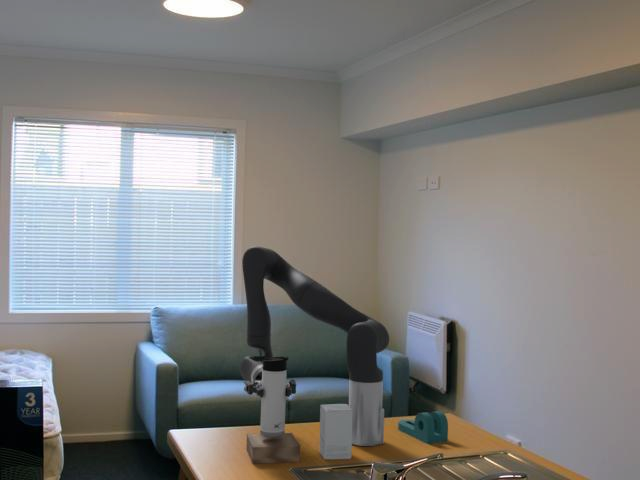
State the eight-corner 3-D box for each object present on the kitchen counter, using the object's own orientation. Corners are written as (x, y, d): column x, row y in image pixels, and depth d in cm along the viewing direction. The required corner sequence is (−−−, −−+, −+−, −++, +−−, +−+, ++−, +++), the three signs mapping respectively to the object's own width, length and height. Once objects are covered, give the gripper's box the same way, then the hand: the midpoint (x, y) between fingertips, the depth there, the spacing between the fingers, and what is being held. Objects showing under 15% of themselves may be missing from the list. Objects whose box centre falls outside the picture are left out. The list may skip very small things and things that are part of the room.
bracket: (447, 442, 211) (448, 414, 211) (427, 444, 208) (427, 416, 208) (413, 426, 227) (413, 400, 227) (393, 428, 225) (394, 402, 225)
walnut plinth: (291, 447, 201) (291, 432, 201) (300, 461, 189) (300, 445, 189) (246, 449, 198) (246, 434, 198) (252, 463, 187) (252, 447, 187)
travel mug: (282, 438, 190) (285, 359, 190) (257, 436, 192) (259, 357, 191) (288, 431, 196) (291, 355, 196) (263, 429, 198) (266, 353, 197)
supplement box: (352, 459, 192) (353, 409, 192) (323, 460, 191) (324, 410, 191) (346, 451, 200) (347, 403, 199) (318, 451, 198) (319, 403, 198)
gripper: (240, 366, 206) (247, 378, 190) (292, 365, 209) (303, 378, 193) (239, 393, 206) (246, 408, 190) (291, 392, 209) (302, 407, 193)
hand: (275, 393), depth 191 cm, fingers closed on travel mug, 6 cm apart
